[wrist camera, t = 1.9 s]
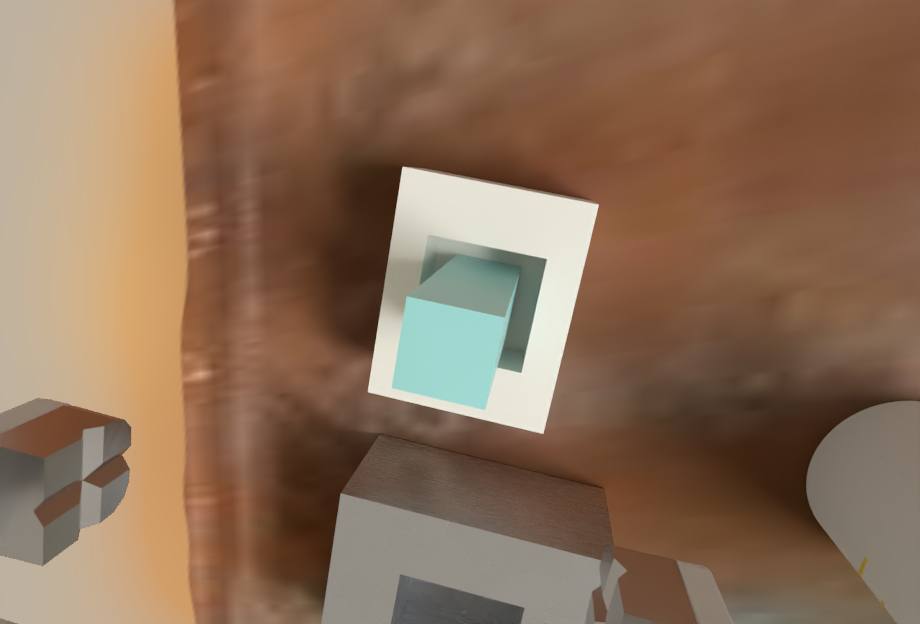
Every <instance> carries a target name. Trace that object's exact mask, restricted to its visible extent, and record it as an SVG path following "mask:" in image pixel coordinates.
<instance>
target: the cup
mask: <svg viewBox="0 0 920 624" xmlns="http://www.w3.org/2000/svg"><path fill="white" fill-rule="evenodd" d="M806 491H807V497H808V502H809V505H810V508H811V510H812V512H813V514H814V516H815V518H816V519H817V521H818V522H819V524H820V525H821V526H822V528H823V529H824V530H825V531H826V533H827V534H828V535H829V537H830V538H831V539H832V540H833V542H834V543H835V544H836V546H837V547H838V548H839V549H840V551H841V552H842V553H843V555H844V556H845V557H846V559H847V560H848V561H849V562H850V564H851V565H852V566H853V568H854V569H855V570H856V571H857V573H858V574H859V575H860V577H861V578H862V579H863V580H864V582H865V583H866V584H867V586H868V587H869V588H870V589H871V591H872V592H873V593H874V595H875V596H876V597H877V598H878V600H879V601H880V602H881V604H882V605H883V606H884V607H885V609H886V610H887V611H888V613H889V614H890V615H891V616H892V618H893V619H894V620H895V622H896V623H897V624H920V401H896V402H889V403H884V404H879V405H876V406H873V407H870V408H867V409H864V410H862V411H860V412H858V413H856V414H854V415H852V416H850V417H849V418H847V419H845V420H844V421H842V422H841V423H840V424H838V425H837V426H836V427H835V428H834V429H833V430H831V431H830V432H829V433H828V434H827V436H826V437H825V438H824V439H823V440H822V442H821V443H820V444H819V446H818V447H817V449H816V451H815V453H814V454H813V457H812V459H811V462H810V464H809V468H808V472H807V479H806Z"/></svg>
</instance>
